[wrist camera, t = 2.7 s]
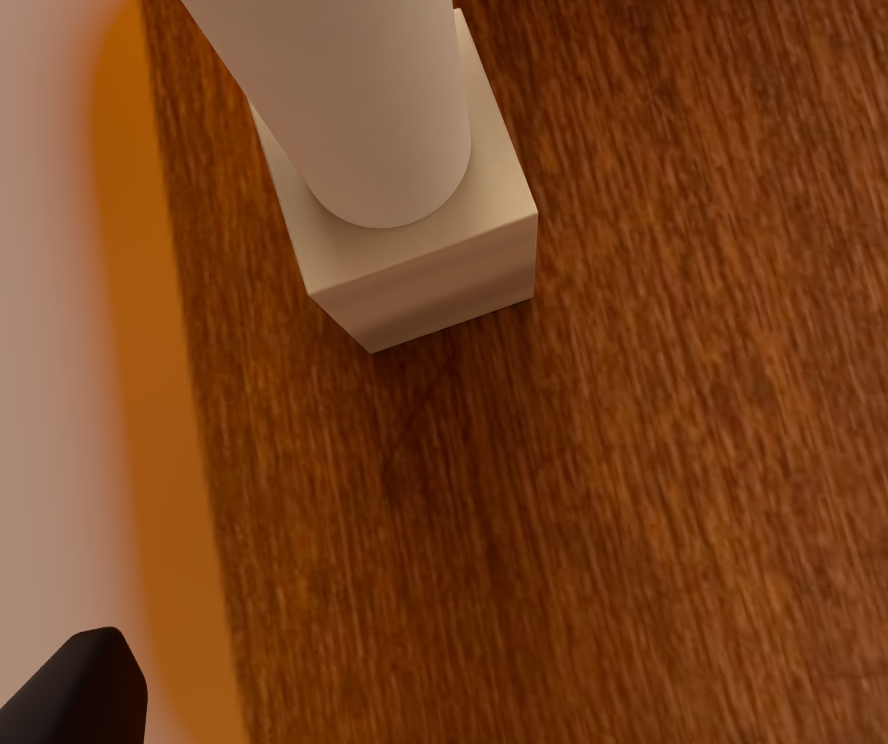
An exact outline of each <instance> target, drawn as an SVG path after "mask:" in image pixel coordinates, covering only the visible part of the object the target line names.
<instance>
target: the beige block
mask: <svg viewBox="0 0 888 744" xmlns="http://www.w3.org/2000/svg"><path fill="white" fill-rule="evenodd" d="M453 11H454V19H455V26H456V33H457V40H458V47H459V55H460V62H461V69H462V76H463V83H464V90H465V98H466V105H467V112H468V119H469V126H470V133H471V152H470V159H469V162H468V166H467V169H466V172H465V174H464V176H463V179H462V180H461V182H460V184H459V186H458V187H457V189H456V190H455V191H454V193H453V194H452V195H451V197H450V198H449V199H448V200H447V201H446V202H445V203H444V204H443V205H442V206H440V207H439V208H438V209H437V210H435V211H434V212H433V213H431V214H429V215H428V216H426V217H424V218H422V219H420V220H418V221H416V222H413V223H410V224H407V225H404V226H400V227H394V228H379V229H378V228H367V227H363V226H358V225H355V224H352V223H349V222H347V221H345V220H343V219H341V218H339V217H337V216H335V215H334V214H333V213H331V212H330V211H329V210H327V209H326V208H325V207H324V206H323V205H322V204H321V203H320V202H319V201H318V199H317V198H316V197H315V195H314V194H313V193H312V191H311V190H310V188H309V187H308V185H307V184H306V182H305V181H304V180H303V178H302V177H301V175H300V174H299V172H298V171H297V169H296V168H295V166H294V165H293V163H292V162H291V161H290V159H289V158H288V156H287V155H286V153H285V152H284V150H283V149H282V147H281V146H280V144H279V143H278V141H277V140H276V139H275V137H274V136H273V134H272V133H271V131H270V130H269V128H268V127H267V125H266V124H265V122H264V121H263V119H262V118H261V117H260V115H259V114H258V112H257V111H256V109H255V108H254V106H253V105H252V103H251V102H250V100H249V99H248V97H247V100H248V103H249V106H250V109H251V113H252V116H253V119H254V122H255V126H256V129H257V132H258V135H259V139H260V142H261V145H262V148H263V151H264V155H265V158H266V161H267V164H268V168H269V171H270V174H271V177H272V181H273V184H274V187H275V190H276V194H277V197H278V200H279V203H280V207H281V210H282V213H283V216H284V220H285V223H286V226H287V229H288V232H289V236H290V239H291V242H292V245H293V249H294V252H295V255H296V258H297V262H298V265H299V268H300V271H301V275H302V278H303V281H304V284H305V288H306V291H307V294H308V295H309V296H310V297H311V298H312V299H313V300H314V301H315V302H316V303H317V304H318V305H319V306H320V307H321V308H322V309H323V310H324V311H326V312H327V313H328V314H329V315H330V316H331V317H332V318H333V319H334V320H335V321H336V322H337V323H338V324H339V325H340V326H341V327H342V328H343V329H344V330H345V331H346V332H347V333H349V334H350V335H351V336H352V337H353V338H354V339H355V340H356V341H357V342H358V343H359V344H360V345H361V346H362V347H363V348H364V349H365V350H366V351H367V352H368V353H369V354H373V353H375V352H378V351H381V350H384V349H387V348H390V347H393V346H395V345H398V344H401V343H404V342H407V341H410V340H413V339H415V338H418V337H421V336H424V335H427V334H430V333H433V332H435V331H438V330H441V329H444V328H447V327H450V326H453V325H455V324H458V323H461V322H464V321H467V320H470V319H473V318H475V317H478V316H481V315H484V314H487V313H490V312H493V311H495V310H498V309H501V308H504V307H507V306H510V305H513V304H515V303H518V302H521V301H524V300H527V299H530V298H532V297H533V292H534V275H535V258H536V240H537V223H538V210H537V208H536V205H535V203H534V200H533V197H532V195H531V192H530V189H529V187H528V184H527V181H526V179H525V176H524V174H523V171H522V168H521V166H520V163H519V160H518V158H517V155H516V152H515V150H514V147H513V145H512V142H511V139H510V137H509V134H508V131H507V129H506V126H505V124H504V121H503V118H502V116H501V113H500V110H499V108H498V105H497V102H496V100H495V97H494V95H493V92H492V89H491V87H490V84H489V81H488V79H487V76H486V74H485V71H484V68H483V66H482V63H481V60H480V58H479V55H478V52H477V50H476V47H475V45H474V42H473V39H472V37H471V34H470V31H469V29H468V26H467V24H466V21H465V18H464V16H463V13H462V10H461V9H460V8H457V9H454V10H453Z"/></svg>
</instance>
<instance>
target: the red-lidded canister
mask: <svg viewBox="0 0 888 744" xmlns="http://www.w3.org/2000/svg"><path fill="white" fill-rule="evenodd" d="M181 1H182V2H183V4H184V5H185V7H186V8H187V10H188V11H189V12H190V14H191V15H192V17H193V18H194V20H195V21H196V23H197V24H198V26H199V27H200V29H201V30H202V32H203V33H204V34H205V36H206V37H207V39H208V40H209V42H210V43H211V45H212V46H213V48H214V49H215V51H216V52H217V54H218V55H219V56H220V58H221V59H222V61H223V62H224V64H225V65H226V67H227V68H228V70H229V71H230V73H231V74H232V76H233V77H234V78H235V80H236V81H237V83H238V84H239V86H240V87H241V89H242V90H243V92H244V93H245V95H246V96H247V97H248V99H249V100H250V102H251V103H252V105H253V106H254V108H255V109H256V111H257V112H258V114H259V115H260V117H261V118H262V119H263V121H264V122H265V124H266V125H267V127H268V128H269V130H270V131H271V133H272V134H273V136H274V137H275V139H276V140H277V141H278V143H279V144H280V146H281V147H282V149H283V150H284V152H285V153H286V155H287V156H288V158H289V159H290V161H291V162H292V163H293V165H294V166H295V168H296V169H297V171H298V172H299V174H300V175H301V177H302V178H303V180H304V181H305V182H306V184H307V185H308V187H309V188H310V190H311V191H312V193H313V194H314V195H315V197H316V198H317V199H318V201H319V202H320V203H321V204H322V205H323V206H324V207H325V208H326V209H327V210H329V211H330V212H331V213H333V214H334V215H335V216H337V217H339V218H341V219H343V220H345V221H347V222H349V223H352V224H355V225H358V226H363V227H367V228H378V229H379V228H394V227H400V226H404V225H407V224H410V223H413V222H416V221H418V220H420V219H422V218H424V217H426V216H428V215H429V214H431V213H433V212H434V211H435V210H437V209H438V208H439V207H440V206H442V205H443V204H444V203H445V202H446V201H447V200H448V199H449V198H450V197H451V195H452V194H453V193H454V191H455V190H456V189H457V187H458V186H459V184H460V182H461V180H462V179H463V176H464V174H465V172H466V169H467V166H468V162H469V159H470V152H471V133H470V126H469V119H468V112H467V105H466V98H465V90H464V83H463V76H462V69H461V62H460V55H459V47H458V40H457V33H456V26H455V19H454V11H453V4H452V0H181Z"/></svg>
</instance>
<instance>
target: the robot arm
mask: <svg viewBox="0 0 888 744" xmlns="http://www.w3.org/2000/svg"><path fill="white" fill-rule="evenodd" d="M147 694H148V692H147V685H146V681H145V678H144V675H143V673H142V671H141V670H140V667H139V665H138V664H137V661H136V660H135V658H134V656H133V654H132V652H131V650H130V648H129V646H128V644H127V642H126V640H125V638H124V636H123V635H122V633H121V632H120V631H119V630H118V629H117V628H115V627H103V628H98V629H93V630H89V631H84V632H80V633H77V634H75V635H73V636H72V637H71V638H70V639H69V640H67V641H66V642H65V644H63V645H62V647H61V648H60V649H59V650H58V651H57V652H56V653H55V654H54V655H53V656H52V657H51V658H50V659H49V660H48V661H47V662H46V663H45V664H44V665H43V666H42V667H41V668H40V669H39V670H38V671H37V672H36V673H35V674H34V675H33V676H32V677H31V678H30V679H29V680H28V681H27V682H26V684H24V685H23V686H22V688H21V689H20V690H19V691H18V692H17V693H16V694H15V695H14V696H13V697H12V698H11V699H10V700H9V701H8V702H7V703H6V704H5V705H4V706H3V707H2V708H1V709H0V744H144V734H145V733H144V732H145V723H146V713H147V702H148V695H147Z"/></svg>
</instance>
